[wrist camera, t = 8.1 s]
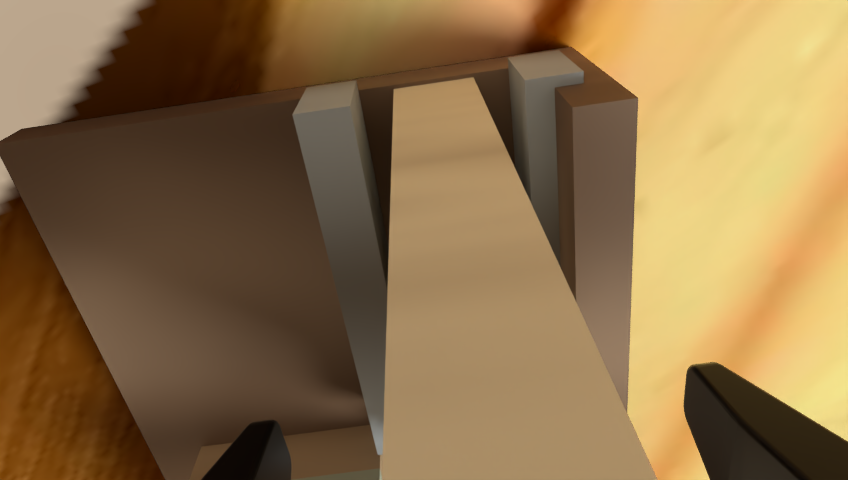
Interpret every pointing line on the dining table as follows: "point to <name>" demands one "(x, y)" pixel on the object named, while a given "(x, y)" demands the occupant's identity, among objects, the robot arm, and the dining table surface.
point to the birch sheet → (485, 317)
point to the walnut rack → (303, 238)
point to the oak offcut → (313, 453)
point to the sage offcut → (350, 476)
